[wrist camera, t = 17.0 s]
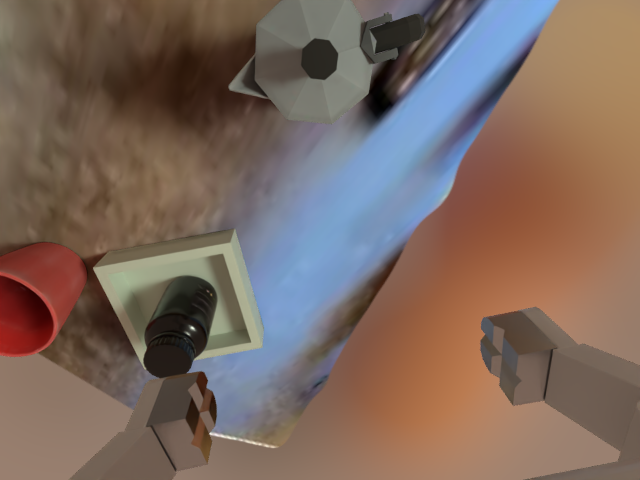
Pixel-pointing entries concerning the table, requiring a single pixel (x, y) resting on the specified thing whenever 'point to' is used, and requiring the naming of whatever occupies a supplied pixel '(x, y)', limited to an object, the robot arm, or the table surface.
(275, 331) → the table surface
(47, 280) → the flower pot
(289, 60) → the coffee maker
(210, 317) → the supplement bottle
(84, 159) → the table surface
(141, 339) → the tray
